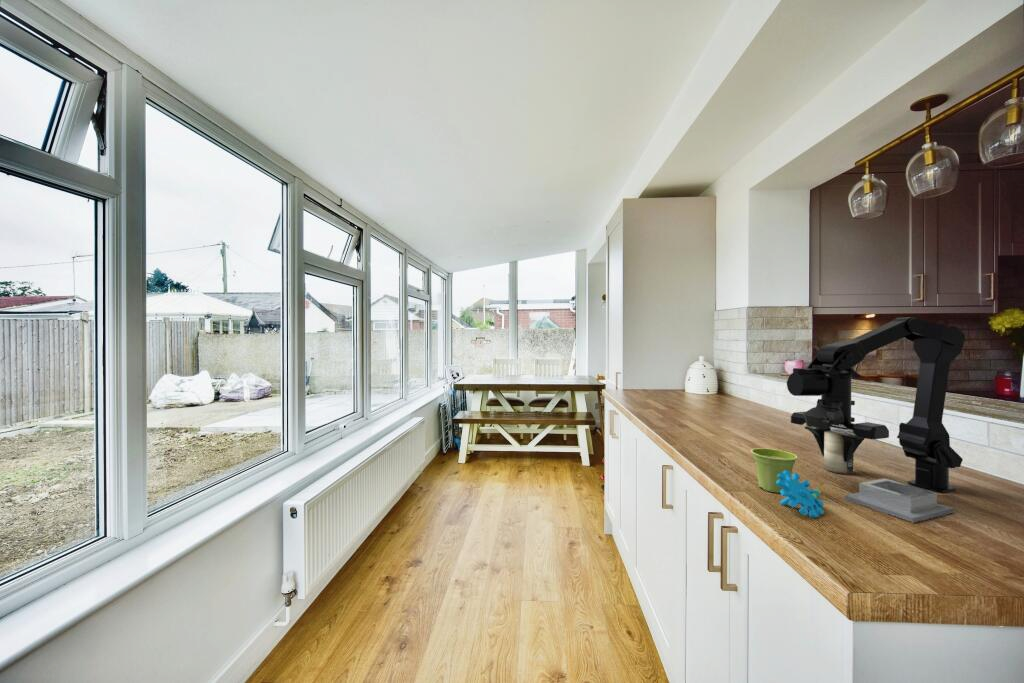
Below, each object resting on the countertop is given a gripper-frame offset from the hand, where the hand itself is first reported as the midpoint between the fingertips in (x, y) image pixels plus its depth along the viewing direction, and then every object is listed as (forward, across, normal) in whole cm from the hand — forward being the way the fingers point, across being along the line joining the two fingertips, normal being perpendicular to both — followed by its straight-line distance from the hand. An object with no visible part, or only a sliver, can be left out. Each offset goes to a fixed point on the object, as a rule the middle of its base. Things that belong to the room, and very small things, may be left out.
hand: (835, 459), depth 97 cm
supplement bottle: (+7, -7, +13) cm, 16 cm away
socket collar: (+6, +12, 0) cm, 13 cm away
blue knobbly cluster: (+7, +7, -22) cm, 24 cm away
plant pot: (+7, -4, -16) cm, 18 cm away
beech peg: (+3, 0, 0) cm, 3 cm away
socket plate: (+7, +12, 0) cm, 14 cm away
